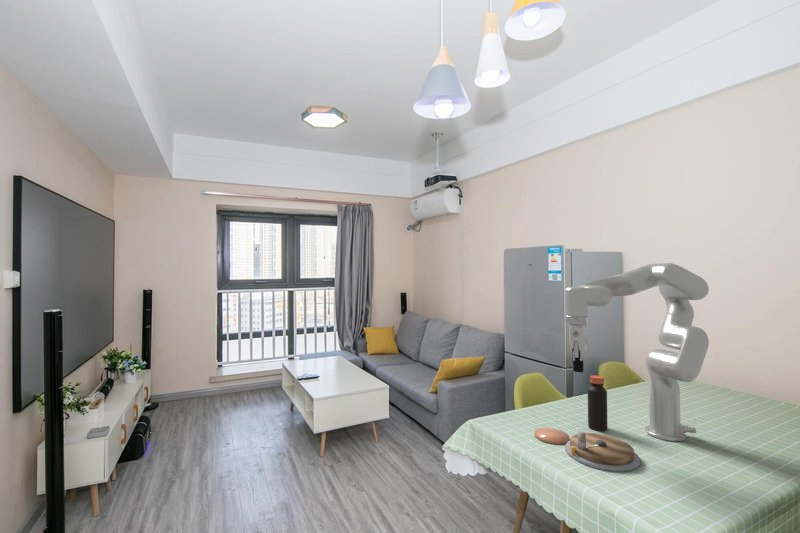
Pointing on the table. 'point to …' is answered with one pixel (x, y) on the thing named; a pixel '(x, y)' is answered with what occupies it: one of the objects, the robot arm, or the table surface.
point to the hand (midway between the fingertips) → (578, 371)
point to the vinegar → (597, 404)
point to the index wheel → (602, 448)
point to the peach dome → (551, 436)
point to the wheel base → (606, 467)
